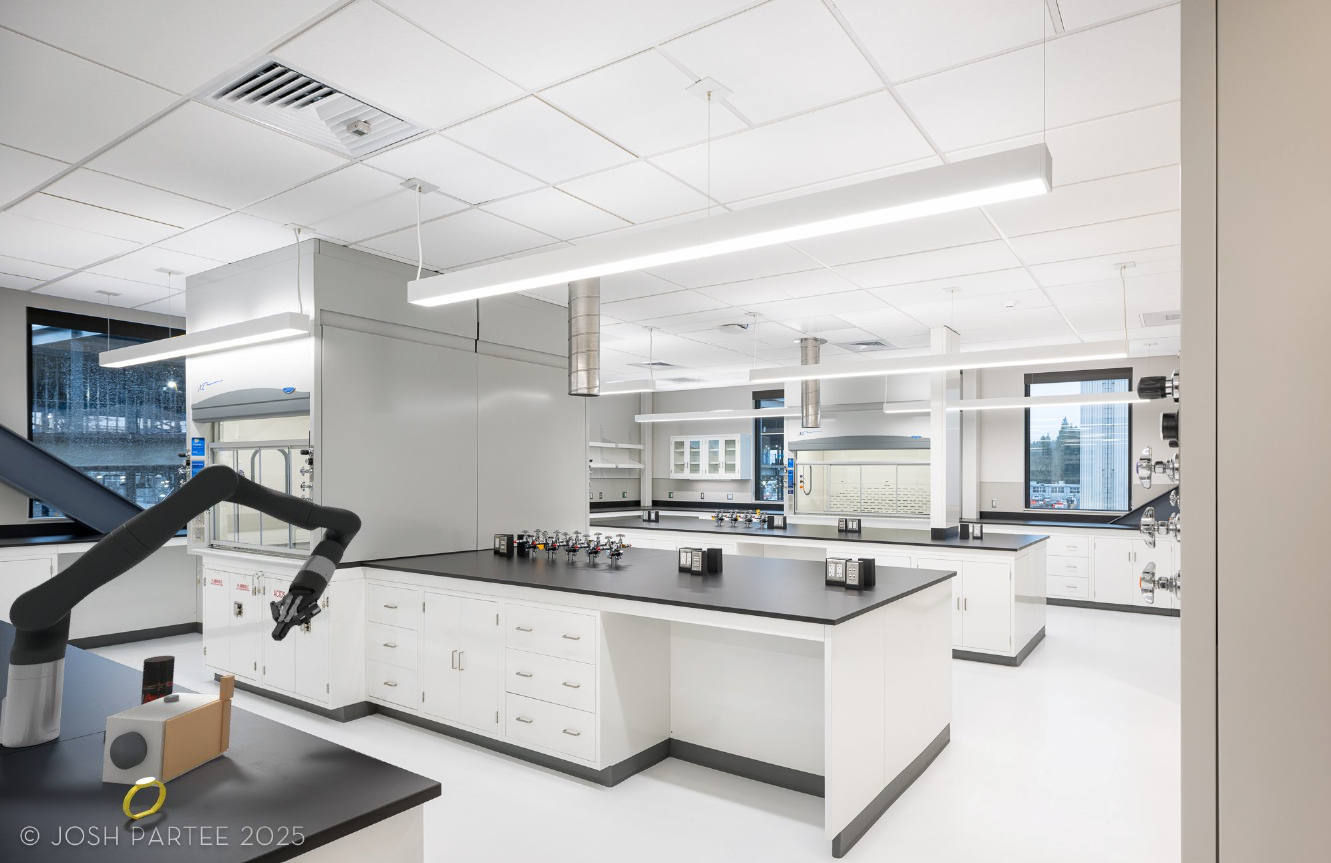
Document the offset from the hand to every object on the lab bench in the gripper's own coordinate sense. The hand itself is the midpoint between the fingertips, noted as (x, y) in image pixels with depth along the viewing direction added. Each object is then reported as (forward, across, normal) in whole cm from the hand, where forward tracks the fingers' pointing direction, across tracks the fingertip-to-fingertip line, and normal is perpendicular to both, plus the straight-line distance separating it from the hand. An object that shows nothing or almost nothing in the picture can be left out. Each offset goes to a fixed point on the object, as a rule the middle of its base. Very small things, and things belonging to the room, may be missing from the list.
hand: (276, 638), depth 162 cm
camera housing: (+30, -7, 0) cm, 31 cm away
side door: (+29, 0, -1) cm, 29 cm away
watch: (+43, +6, -12) cm, 45 cm away
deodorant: (+15, -30, +15) cm, 37 cm away
